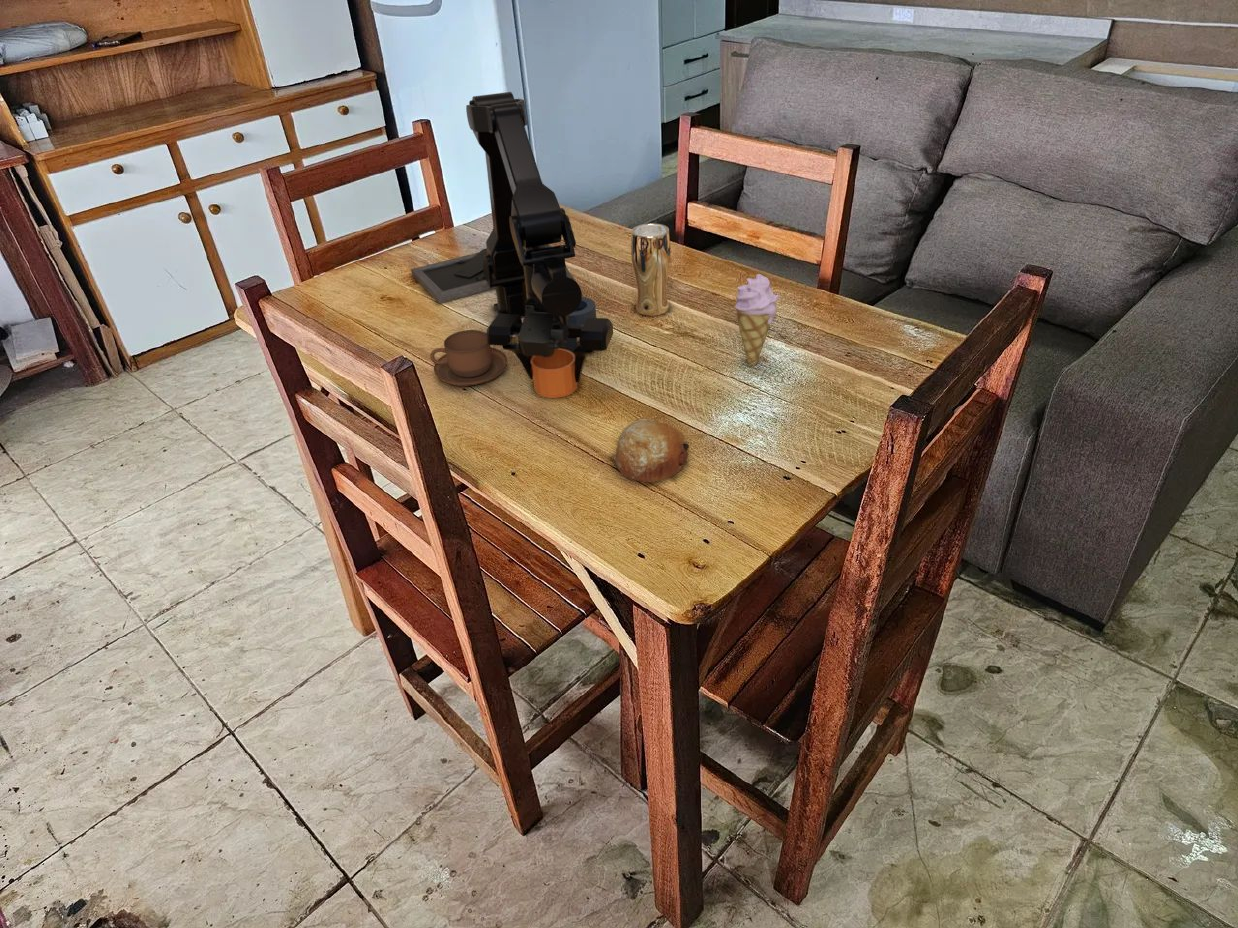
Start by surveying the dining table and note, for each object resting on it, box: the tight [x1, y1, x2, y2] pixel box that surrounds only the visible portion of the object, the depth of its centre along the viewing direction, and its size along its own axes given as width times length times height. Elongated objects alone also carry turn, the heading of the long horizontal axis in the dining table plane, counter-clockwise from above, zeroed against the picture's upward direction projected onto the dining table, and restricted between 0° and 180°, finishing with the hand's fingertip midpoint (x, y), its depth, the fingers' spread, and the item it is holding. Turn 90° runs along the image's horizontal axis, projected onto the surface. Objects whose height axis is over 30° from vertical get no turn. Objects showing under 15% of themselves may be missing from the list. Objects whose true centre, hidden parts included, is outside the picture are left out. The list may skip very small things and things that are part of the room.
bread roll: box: [613, 417, 690, 483], centre depth 114 cm, size 10×10×8 cm
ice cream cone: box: [734, 273, 782, 366], centre depth 131 cm, size 7×6×15 cm
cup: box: [530, 348, 579, 399], centre depth 131 cm, size 7×7×5 cm
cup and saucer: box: [429, 329, 508, 387], centre depth 135 cm, size 12×12×6 cm
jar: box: [559, 296, 597, 353], centre depth 141 cm, size 7×8×8 cm
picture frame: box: [410, 248, 496, 304], centre depth 169 cm, size 16×2×21 cm
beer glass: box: [630, 223, 671, 317], centre depth 149 cm, size 7×7×15 cm
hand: (555, 379), depth 132 cm, fingers closed on cup, 7 cm apart
